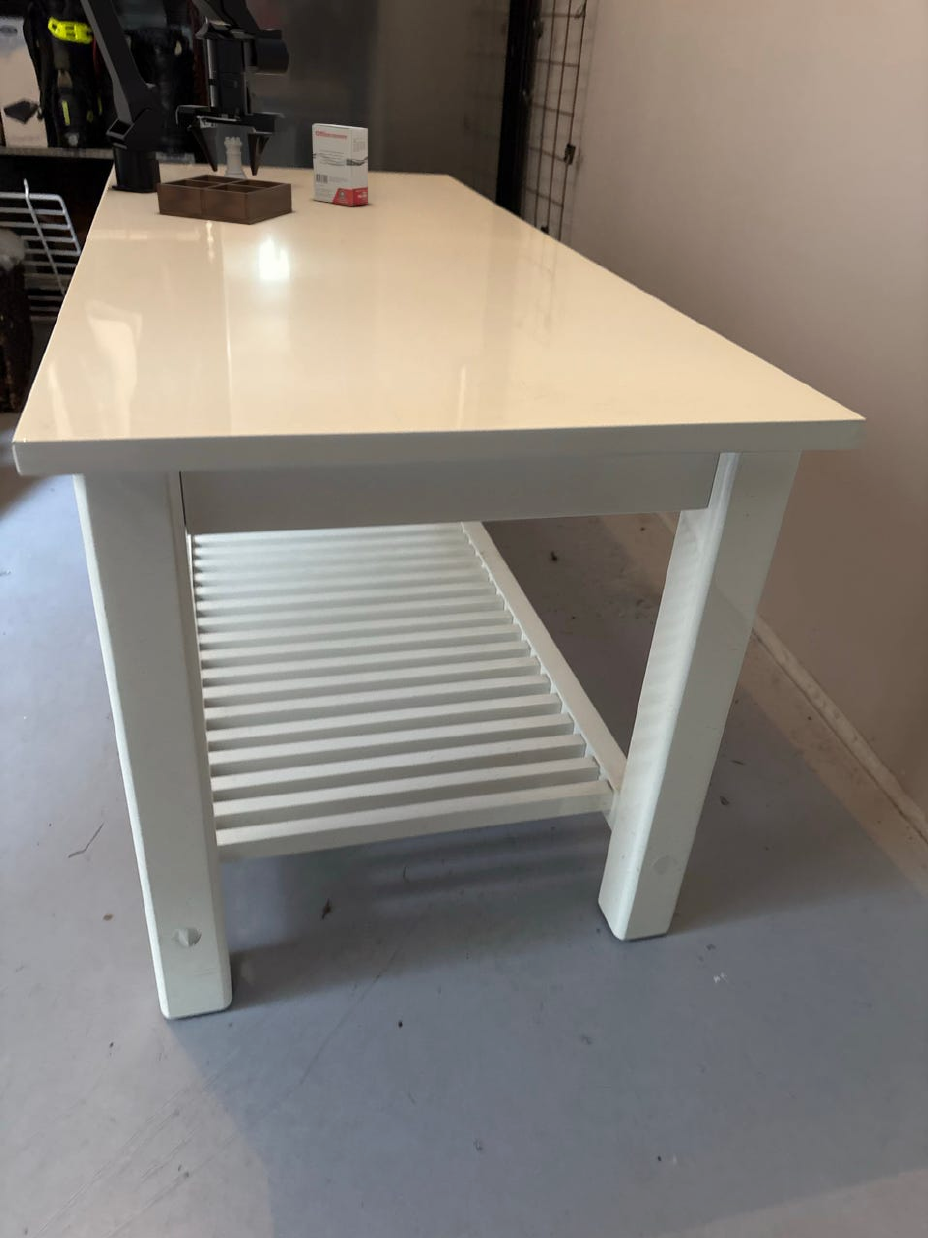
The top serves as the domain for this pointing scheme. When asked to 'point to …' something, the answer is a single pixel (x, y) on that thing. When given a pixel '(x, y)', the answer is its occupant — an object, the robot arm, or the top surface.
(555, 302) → the top surface
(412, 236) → the top surface
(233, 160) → the rook chess piece
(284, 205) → the organizer
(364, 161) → the ink box
